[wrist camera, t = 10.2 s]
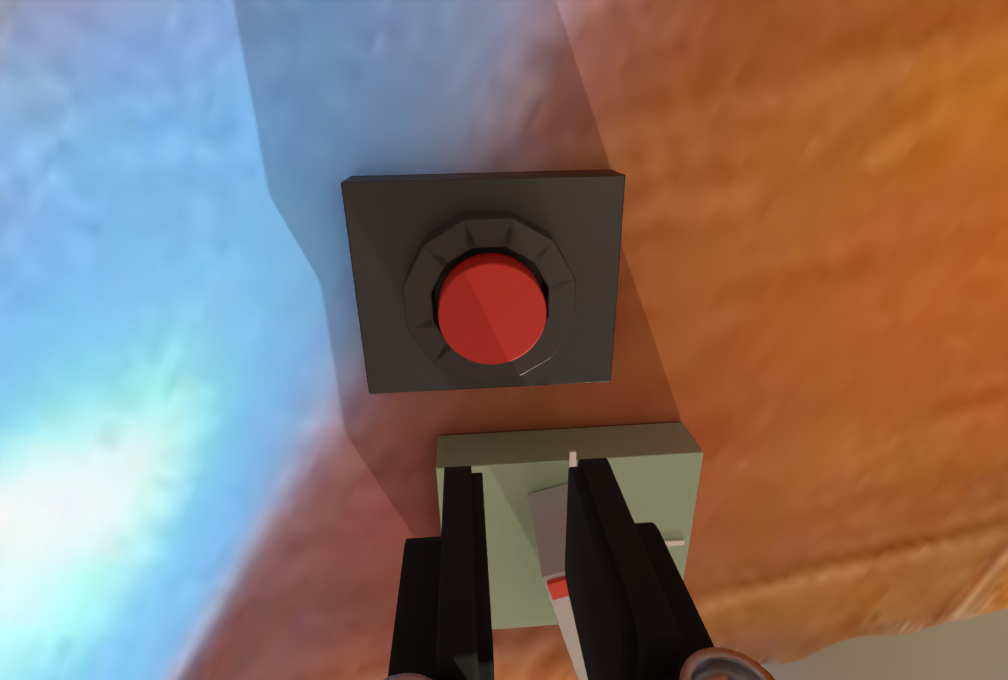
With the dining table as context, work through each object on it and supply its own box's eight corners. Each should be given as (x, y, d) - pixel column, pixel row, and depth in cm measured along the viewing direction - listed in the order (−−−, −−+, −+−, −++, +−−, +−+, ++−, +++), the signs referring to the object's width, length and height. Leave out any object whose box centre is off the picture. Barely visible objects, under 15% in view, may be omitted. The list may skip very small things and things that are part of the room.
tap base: (683, 412, 30) (707, 444, 28) (660, 582, 36) (678, 624, 33) (437, 426, 30) (434, 460, 27) (450, 598, 35) (449, 642, 32)
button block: (375, 373, 28) (362, 413, 24) (350, 176, 24) (330, 187, 20) (600, 362, 29) (621, 399, 25) (612, 169, 25) (638, 179, 21)
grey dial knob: (605, 598, 32) (634, 696, 26) (566, 609, 32) (587, 708, 26) (571, 481, 28) (596, 567, 23) (527, 494, 28) (542, 582, 23)
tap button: (442, 350, 24) (441, 368, 22) (435, 254, 22) (434, 265, 20) (540, 345, 24) (545, 362, 23) (541, 250, 22) (547, 261, 21)
